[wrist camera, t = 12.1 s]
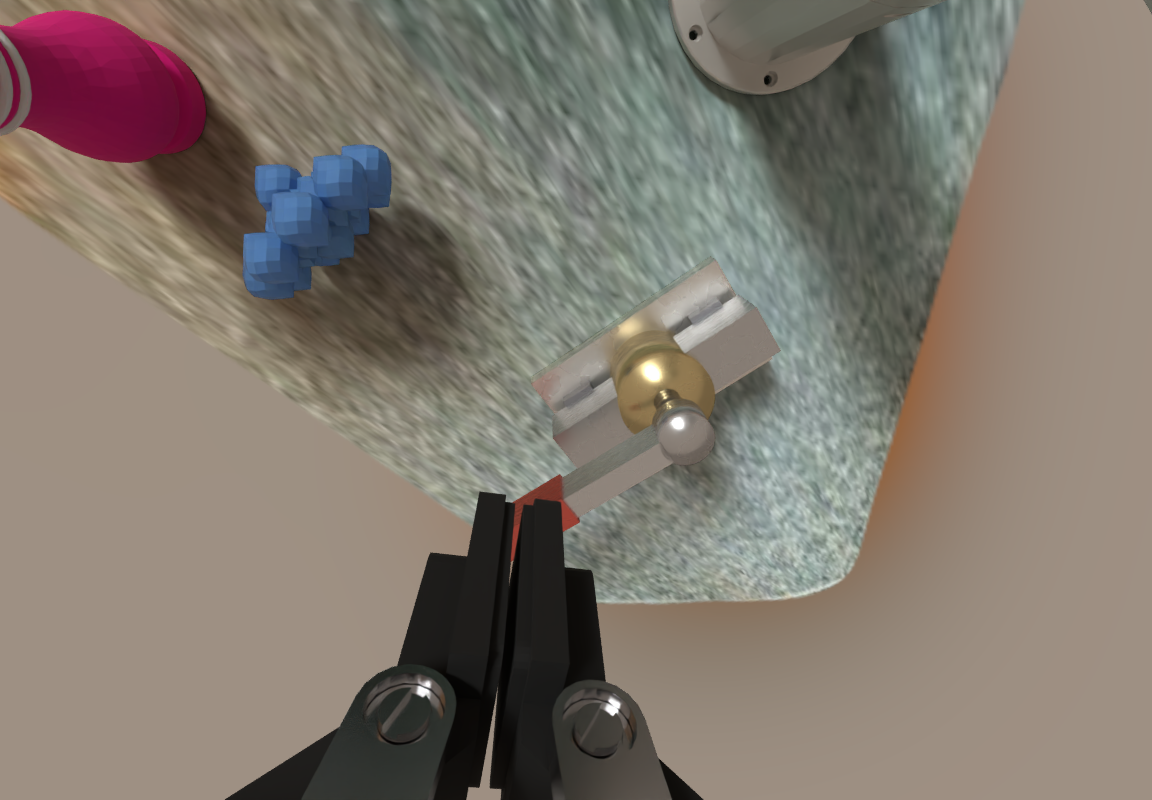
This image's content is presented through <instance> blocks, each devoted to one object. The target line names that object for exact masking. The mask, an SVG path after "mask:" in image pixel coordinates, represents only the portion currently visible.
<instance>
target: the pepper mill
mask: <svg viewBox="0 0 1152 800" xmlns="http://www.w3.org/2000/svg"><path fill="white" fill-rule="evenodd" d="M205 118H206V107H205V99H204V96H203V93H202V90H201V88H200V85H199V83H198V81H197V79H196V78H195V76H194V74H193V73H192V71H191V70H190V69H189V68H188V66H187V65H186V64H185V63H184V62H183V61H182V60H181V59H180V58H179V57H178V56H177V55H176V54H174V53H173V52H172V51H170V50H169V49H167V48H165V47H164V46H162V45H159V44H157V43H155V42H152V41H148V40H145V39H141V38H140V37H139V36H138V35H136V34H135V33H134V32H132V31H131V30H129V29H128V28H126V27H125V26H123V25H121V24H119V23H117V22H115V21H113V20H111V19H108V18H105V17H102V16H98V15H95V14H90V13H84V12H78V11H68V10H62V11H54V12H47V13H43V14H39V15H35V16H32V17H29V18H27V19H25V20H23V21H21V22H19V23H17V24H16V25H14V26H11V27H10V26H4V25H0V136H2V135H6V134H8V133H10V132H12V131H14V130H16V129H17V128H18V127H23V128H26V129H29V130H32V131H35V132H37V133H39V134H41V135H42V136H44V137H46V138H48V139H49V140H51V141H53V142H55V143H57V144H58V145H60V146H62V147H64V148H66V149H68V150H70V151H73V152H76V153H79V154H81V155H84V156H87V157H91V158H94V159H98V160H104V161H111V162H120V163H132V162H139V161H143V160H146V159H149V158H151V157H153V156H155V155H157V154H171V153H177V152H180V151H183V150H185V149H187V148H189V147H190V146H192V145H193V144H194V143H195V142H196V141H197V139H198V138H199V136H200V135H201V133H202V131H203V129H204V124H205Z"/></svg>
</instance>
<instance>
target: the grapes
mask: <svg viewBox="0 0 1152 800" xmlns="http://www.w3.org/2000/svg"><path fill="white" fill-rule="evenodd" d="M255 190H256V195H257V199H258V200H259V202H260V203H261V205H262V206H263V207H264V208H265V210H266V211H267V217H266V226H265V232H261V233H249V234H244V245H243V278H244V283H245V286H246V288H247V290H248V291H249V292H250V293H251V294H252V295H253V296H254V297H259V298H264V299H270V300H274V299H285V298H294V291H298V290H308V289H311V267H312V266H331V265H339V263H340V258H350V257H354V235H362V234H369V225H370V223H369V208H382V207H389V201H390V194H391V163H390V161H389V158H388V156H387V154H386V153H385V152H384V151H382V150H381V149H379V148H378V147H376V146H374V145H350V146H342V154H341V155H325V156H318V157H314V162H313V172H311V176H305V177H302V176H301V174H300V173H299V172H298V170H297V169H294V168H292V167H290V166H288V165H261V166H256V172H255Z"/></svg>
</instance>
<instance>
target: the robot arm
mask: <svg viewBox="0 0 1152 800" xmlns="http://www.w3.org/2000/svg"><path fill="white" fill-rule="evenodd" d="M944 1H946V0H668V3H669V10H670V14H671V18H672V22H673V26H674V30H675V32H676V34H677V36H678V39H679V41H680V43H681V45H682V47H683V50H684V51H685V52H686V54H687V55H688V57H689V58H690V59H691V61H692V62H693V64H694V65H695V66H696V67H697V68H698V69H699V70H700V71H701V72H702V73H703V74H704V75H705V76H706V77H708V78H709V79H710V80H712V81H713V82H715V83H717V84H719V85H720V86H722V87H724V88H726V89H729V90H732V91H735V92H738V93H741V94H752V95H765V94H772V93H779V92H782V91H785V90H789V89H793V88H795V87H797V86H799V85H801V84H803V83H806V82H808V81H810V80H812V79H813V78H814V77H816V76H817V75H819V74H820V73H821V72H823V71H824V70H826V69H827V68H828V67H829V66H830V65H831V64H832V63H833V62H834V61H835V60H836V59H837V58H838V57H839V56H840V55H841V54H842V53H843V52H844V51H845V50H846V48H847V47H848V46H849V44H850V43H851V42H852V40H853V39H854V37H855V36H856V35H858V34H861V33H864V32H866V31H869V30H871V29H874V28H876V27H879V26H882V25H884V24H887V23H889V22H892V21H895V20H897V19H900V18H902V17H905V16H908V15H910V14H913V13H915V12H918V11H921V10H923V9H926V8H928V7H931V6H934V5H936V4H939V3H941V2H944ZM1144 1H1145V3H1146V5H1147V7H1148V8H1149V10H1150V12H1151V14H1152V0H1144ZM691 31H692V32H694V33H695V34H696V39H695V40H691V39H690V38H689V33H690V32H691ZM765 76H767V77H768V78H769V83H768V84H767V85H765V84H764V77H765ZM505 500H506V495H503V494H495V493H487V492H480V493H479V498H478V503H477V508H476V514H475V519H474V524H473V529H472V535H471V540H470V545H469V550H468V556H467V557H466V556H456V555H449V554H439V553H430V555H429V557H428V560H427V564H426V567H425V571H424V575H423V578H422V581H421V585H420V588H419V592H418V595H417V599H416V602H415V606H414V609H413V613H412V616H411V620H410V623H409V627H408V630H407V634H406V637H405V640H404V644H403V648H402V651H401V654H400V658H399V661H398V665H397V666H394V667H391V668H389V669H387V670H384V671H382V672H380V673H378V674H376V675H375V676H374V677H372V678H371V679H370V680H369V681H368V682H366V683H365V684H364V685H363V687H362V688H361V690H360V691H359V692H358V694H357V695H356V697H355V699H354V700H353V702H352V704H351V706H350V708H349V710H348V712H347V714H346V715H345V717H344V719H343V721H342V723H341V725H340V727H339V728H337V729H335V730H334V731H332V732H331V733H329V734H327V735H326V736H324V737H323V738H321V739H320V740H318V741H316V742H315V743H313V744H312V745H310V746H309V747H307V748H305V749H304V750H302V751H301V752H299V753H298V754H296V755H295V756H293V757H291V758H290V759H288V760H286V761H285V762H283V763H282V764H280V765H279V766H277V767H275V768H274V769H272V770H271V771H269V772H267V773H266V774H264V775H263V776H261V777H260V778H258V779H256V780H255V781H253V782H252V783H250V784H249V785H247V786H245V787H244V788H242V789H241V790H239V791H237V792H236V793H234V794H233V795H231V796H230V797H228V798H226V799H225V800H466V798H467V792H468V787H476V788H479V787H480V782H481V776H482V771H483V765H484V760H485V754H486V748H487V743H488V738H489V732H490V726H491V721H492V715H493V710H494V704H495V699H496V693H497V688H498V693H497V705H496V716H495V728H494V741H493V751H492V763H491V775H490V788H493V789H501V800H703V799H702V798H701V797H700V796H699V795H698V794H697V793H696V792H695V791H693V790H692V789H691V788H690V787H689V786H688V785H687V784H686V783H685V782H684V781H683V780H682V779H680V778H679V777H678V776H677V775H676V774H675V773H674V772H673V771H672V770H671V769H669V767H667V766H666V765H665V764H664V763H663V762H662V761H661V760H660V759H659V758H658V756H657V753H656V750H655V747H654V744H653V741H652V738H651V736H650V732H649V729H648V726H647V723H646V720H645V718H644V716H643V714H642V712H641V710H640V708H639V706H638V704H637V703H636V702H635V701H634V700H633V699H632V698H631V696H630V695H629V694H628V693H626V692H625V691H623V690H622V689H620V688H619V687H617V686H615V685H612V684H610V683H607V682H606V680H605V671H604V663H603V654H602V646H601V638H600V629H599V620H598V612H597V604H596V595H595V587H594V578H593V573H592V571H591V570H584V569H575V568H566V567H565V566H564V546H563V527H562V507H561V502H559V501H551V500H543V499H534V503H533V505H526V504H524V505H523V509H522V515H521V520H520V526H519V532H518V538H517V543H516V549H515V555H514V560H513V566H512V573H511V578H510V583H509V577H510V565H511V553H512V540H513V528H514V516H515V503H510V502H505Z"/></svg>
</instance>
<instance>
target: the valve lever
mask: <svg viewBox="0 0 1152 800" xmlns="http://www.w3.org/2000/svg"><path fill="white" fill-rule="evenodd" d="M714 443H715V433H714V430H713V428H712V426H711V424H710V423H709V421H708V420H707V418H706V416H705V415H704V413H703V411H702V410H701V408H700V407H699V406H698V405H697V404H696V403H695V402H693V401H691V400H688V399H673V400H670V401H668V402H666V403H664V404H663V405H661V406H660V407H659V408H658V409H657V411H656V412H655V414H654V416H653V420H652V425H650V426H649V427H647V428H645V429H643V430H642V431H640V432H638V433H637V434H635V435H633V436H632V437H630V438H628V439H627V440H625V441H623V442H622V443H620V444H618V445H617V446H615V447H613V448H612V449H610V450H608V451H606V452H605V453H603V454H601V455H600V456H598V457H596V458H595V459H593V460H591V461H590V462H588V463H586V464H585V465H583V466H581V467H580V468H578V469H576V470H575V471H573V472H571V473H569V474H568V475H566V476H564V477H563V478H562V476H561V475H560V474H559V475H558V476H556V477H554V478H553V479H551V480H549V481H548V482H546V483H544V484H543V485H541V486H539V487H538V488H536V489H534V490H533V491H531V492H529V493H528V494H526V495H524V496H523V497H521V498H519V499H517V500H516V501H514V502H512V503H515V516H514V528H513V540H512V553H511V561H513V560H514V555H515V549H516V543H517V538H518V532H519V526H520V520H521V515H522V509H523V505H524V504H526V505H533V503H534V499H543V500H551V501H559V502H561V507H562V527H563V532H564V531H565V530H567V529H569V528H571V527H572V526H574V525H576V524H578V523H579V522H580V520H579V517H580V516H582V515H584V514H586V513H587V512H589V511H591V510H592V509H594V508H596V507H598V506H599V505H601V504H603V503H605V502H606V501H608V500H610V499H612V498H613V497H615V496H617V495H619V494H620V493H622V492H624V491H626V490H627V489H629V488H631V487H632V486H634V485H636V484H638V483H639V482H641V481H643V480H645V479H646V478H648V477H650V476H652V475H653V474H655V473H657V472H659V471H660V470H662V469H664V468H665V467H667V466H669V465H671V464H672V463H674V464H677V465H691V464H695V463H697V462H699V461H701V460H703V459H704V458H705V457H706V456H707V455H708V454H709V453H710V452H711V450H712V449H713V446H714Z"/></svg>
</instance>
